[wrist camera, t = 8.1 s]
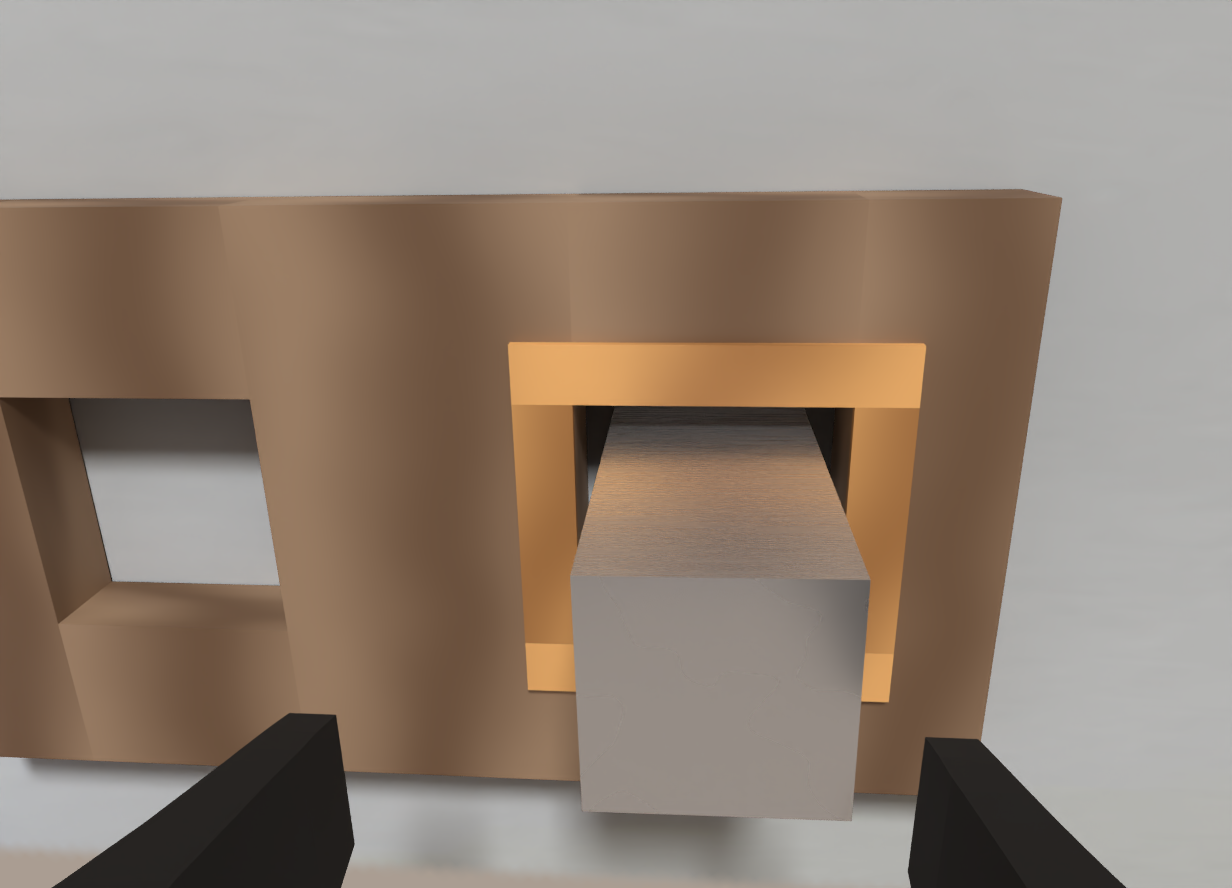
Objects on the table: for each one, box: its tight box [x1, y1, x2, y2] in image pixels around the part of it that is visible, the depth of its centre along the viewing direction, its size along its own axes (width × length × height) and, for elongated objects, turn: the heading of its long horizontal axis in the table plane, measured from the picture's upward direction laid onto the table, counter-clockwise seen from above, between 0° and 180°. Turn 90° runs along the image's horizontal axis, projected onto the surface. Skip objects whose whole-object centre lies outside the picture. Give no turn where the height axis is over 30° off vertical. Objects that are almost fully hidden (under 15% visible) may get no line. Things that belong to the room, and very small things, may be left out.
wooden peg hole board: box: [0, 189, 1062, 795], centre depth 20 cm, size 24×13×2 cm, turn 91°
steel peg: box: [570, 406, 871, 821], centre depth 16 cm, size 4×4×8 cm
